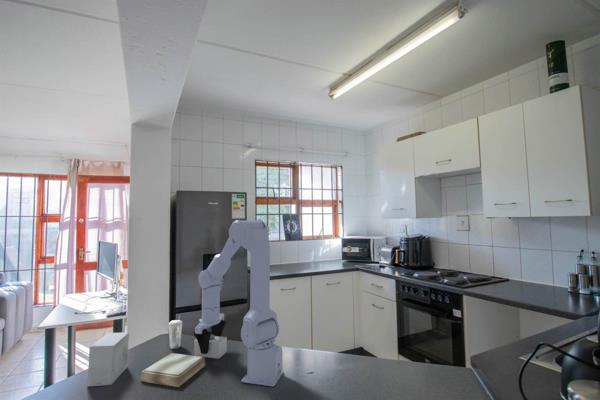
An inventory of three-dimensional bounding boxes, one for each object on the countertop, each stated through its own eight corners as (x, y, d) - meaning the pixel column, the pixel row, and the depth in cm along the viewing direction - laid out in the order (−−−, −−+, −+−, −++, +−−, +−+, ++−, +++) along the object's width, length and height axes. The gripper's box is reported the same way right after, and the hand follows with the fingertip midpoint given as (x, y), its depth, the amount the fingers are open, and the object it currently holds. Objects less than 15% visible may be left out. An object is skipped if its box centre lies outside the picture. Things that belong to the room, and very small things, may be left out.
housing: (226, 352, 101) (226, 334, 101) (218, 359, 96) (218, 340, 96) (202, 349, 103) (203, 332, 103) (194, 356, 98) (194, 337, 99)
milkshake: (185, 343, 108) (185, 315, 108) (178, 350, 102) (178, 320, 103) (173, 343, 108) (173, 314, 109) (165, 349, 103) (165, 319, 104)
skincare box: (112, 385, 81) (114, 344, 82) (86, 387, 80) (88, 346, 81) (128, 366, 91) (129, 331, 92) (105, 368, 90) (106, 332, 91)
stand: (204, 366, 91) (204, 356, 91) (178, 387, 79) (178, 376, 80) (170, 361, 94) (170, 352, 94) (140, 381, 83) (141, 370, 83)
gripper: (212, 300, 109) (211, 339, 108) (186, 312, 95) (186, 356, 94) (229, 301, 107) (229, 341, 106) (206, 313, 93) (206, 359, 92)
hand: (210, 348), depth 100 cm, fingers open, 7 cm apart
